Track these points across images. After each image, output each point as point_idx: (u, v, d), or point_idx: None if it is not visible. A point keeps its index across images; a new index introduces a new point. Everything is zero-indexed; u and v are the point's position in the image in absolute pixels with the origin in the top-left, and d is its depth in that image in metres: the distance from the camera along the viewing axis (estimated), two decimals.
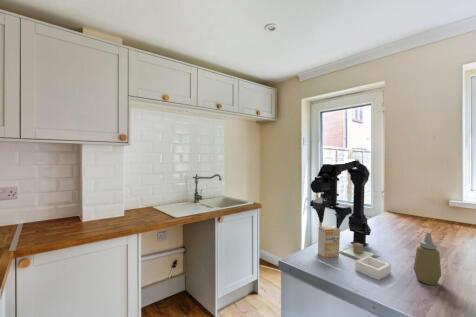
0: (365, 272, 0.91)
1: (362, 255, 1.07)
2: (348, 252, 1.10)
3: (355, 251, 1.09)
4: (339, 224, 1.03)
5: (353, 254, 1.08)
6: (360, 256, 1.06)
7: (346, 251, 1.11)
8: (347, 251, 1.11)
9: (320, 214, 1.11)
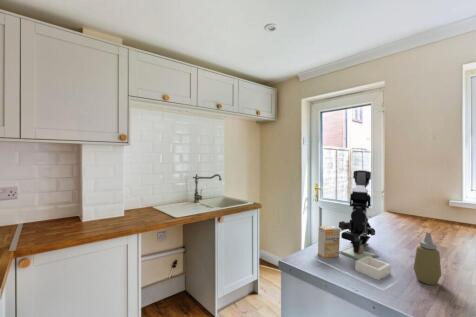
0: (365, 272, 0.91)
1: (362, 255, 1.07)
2: (348, 252, 1.10)
3: None
4: (355, 248, 1.08)
5: (353, 254, 1.08)
6: (360, 256, 1.06)
7: (346, 251, 1.11)
8: (347, 251, 1.11)
9: None
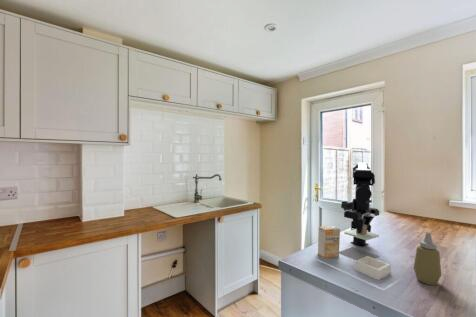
0: (365, 272, 0.91)
1: (365, 235, 1.03)
2: (351, 232, 1.06)
3: None
4: (358, 228, 1.04)
5: (356, 234, 1.04)
6: (363, 236, 1.02)
7: (349, 232, 1.07)
8: (350, 232, 1.07)
9: None
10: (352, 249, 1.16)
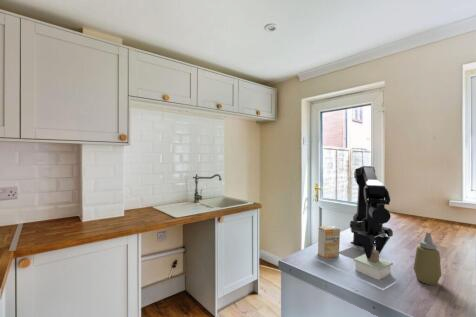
0: (365, 272, 0.91)
1: (378, 264, 0.91)
2: (361, 260, 0.94)
3: (369, 259, 0.93)
4: (367, 253, 0.91)
5: (367, 262, 0.92)
6: (376, 265, 0.90)
7: (359, 259, 0.95)
8: (360, 259, 0.95)
9: (376, 243, 0.96)
10: (352, 249, 1.16)
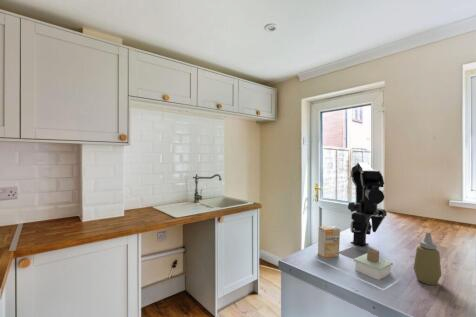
0: (365, 272, 0.91)
1: (378, 264, 0.91)
2: (361, 260, 0.94)
3: (369, 259, 0.93)
4: (362, 231, 1.01)
5: (367, 262, 0.92)
6: (376, 265, 0.90)
7: (359, 259, 0.95)
8: (360, 259, 0.95)
9: (373, 222, 1.07)
10: (352, 249, 1.16)
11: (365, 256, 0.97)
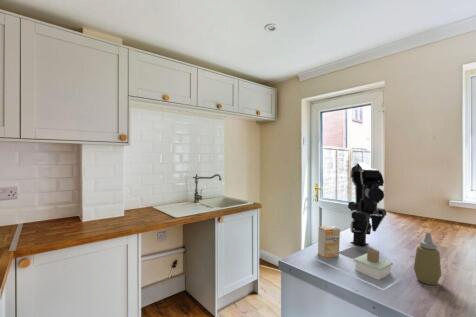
0: (365, 272, 0.91)
1: (378, 264, 0.91)
2: (361, 260, 0.94)
3: (369, 259, 0.93)
4: (362, 230, 1.02)
5: (367, 262, 0.92)
6: (376, 265, 0.90)
7: (359, 259, 0.95)
8: (360, 259, 0.95)
9: (373, 222, 1.08)
10: (352, 249, 1.16)
11: (365, 256, 0.97)
